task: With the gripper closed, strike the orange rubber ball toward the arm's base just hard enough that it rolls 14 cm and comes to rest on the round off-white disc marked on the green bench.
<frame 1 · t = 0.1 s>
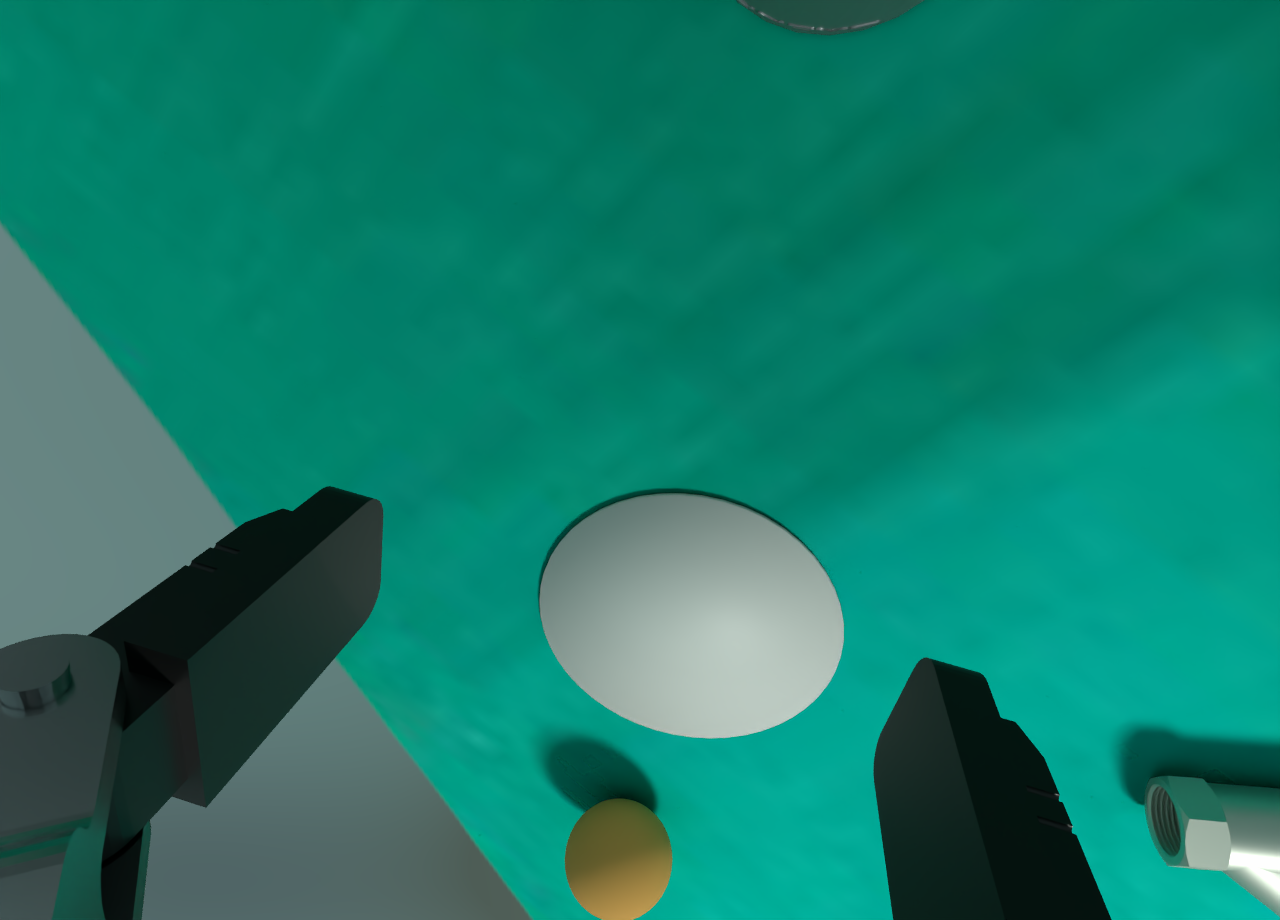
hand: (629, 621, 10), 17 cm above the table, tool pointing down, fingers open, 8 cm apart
pipe fitting: (1234, 811, 31), on the table
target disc: (686, 625, 32), on the table
ball: (618, 857, 36), on the table
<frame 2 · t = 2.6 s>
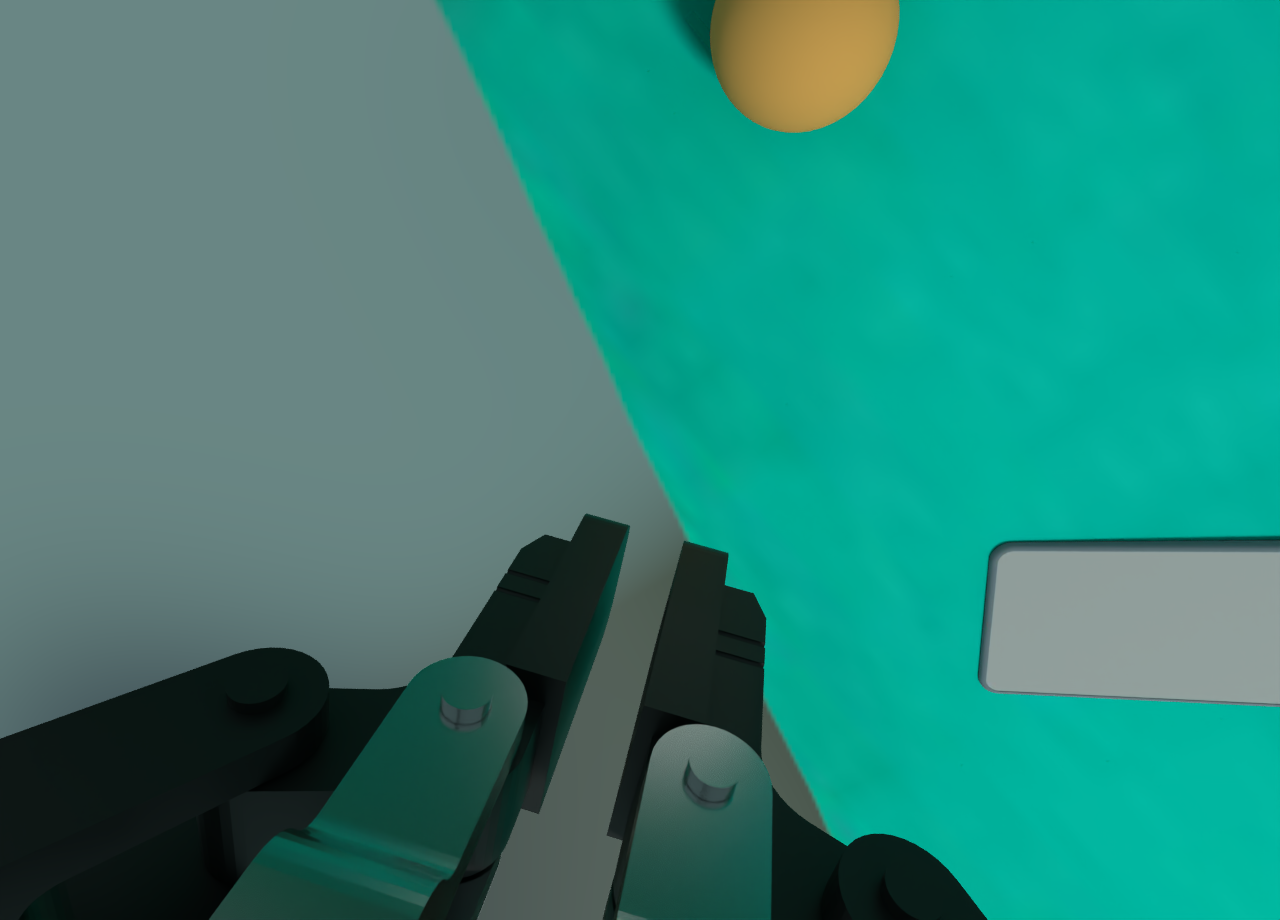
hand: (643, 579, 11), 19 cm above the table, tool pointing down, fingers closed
smartphone: (1163, 613, 31), on the table
ball: (801, 31, 21), on the table
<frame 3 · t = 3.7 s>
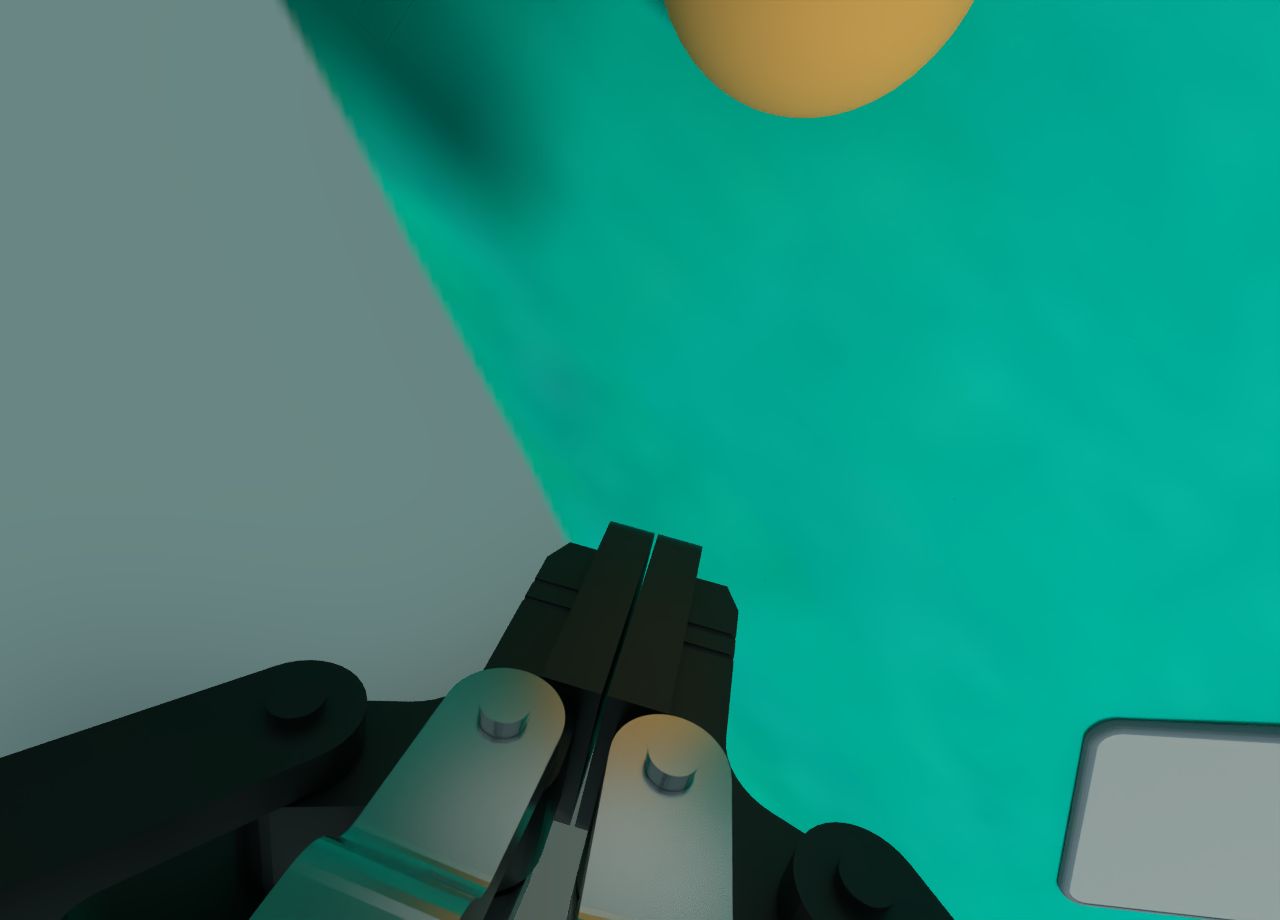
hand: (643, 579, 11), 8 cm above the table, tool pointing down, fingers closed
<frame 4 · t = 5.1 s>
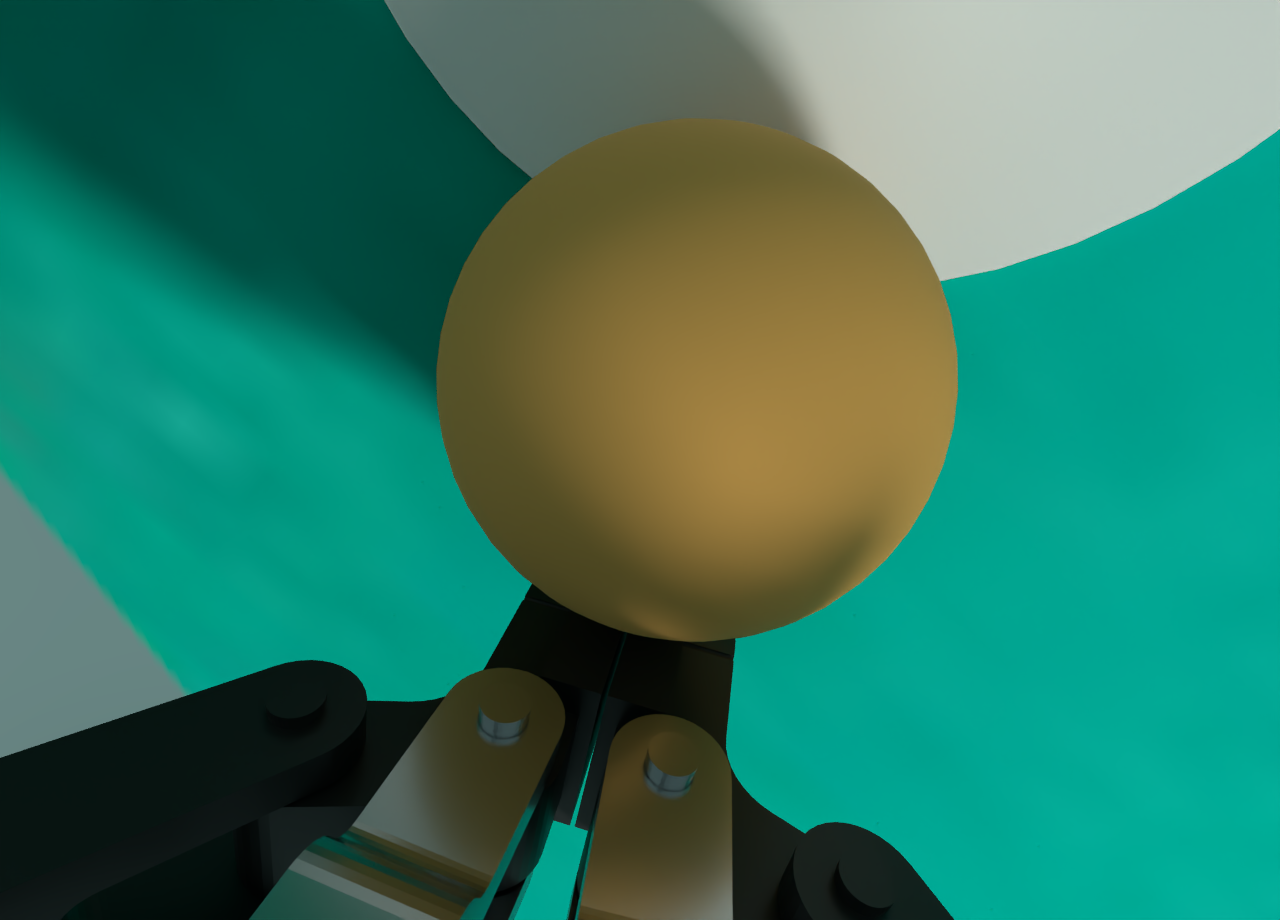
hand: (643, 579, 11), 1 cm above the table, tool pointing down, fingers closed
ball: (690, 389, 8), on the table
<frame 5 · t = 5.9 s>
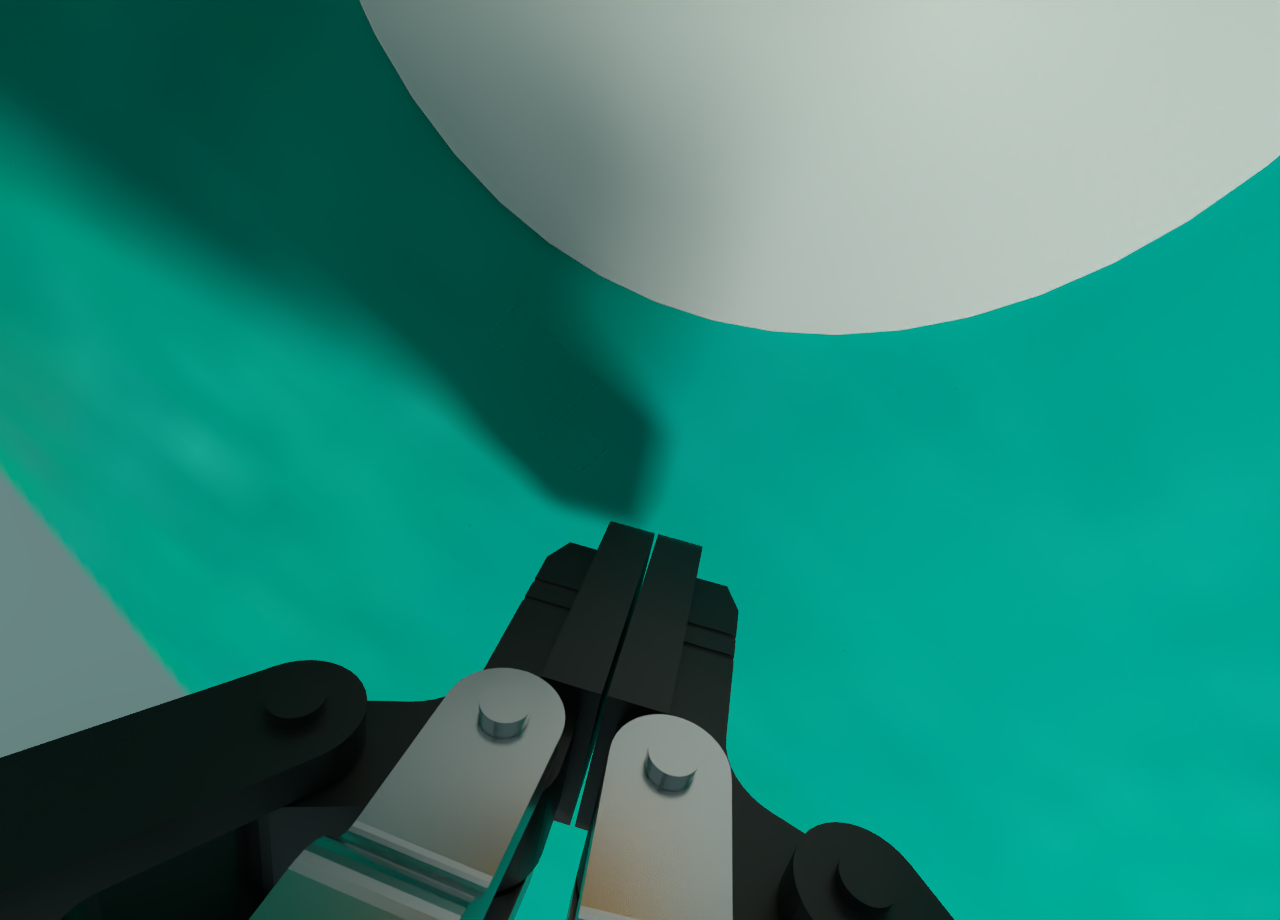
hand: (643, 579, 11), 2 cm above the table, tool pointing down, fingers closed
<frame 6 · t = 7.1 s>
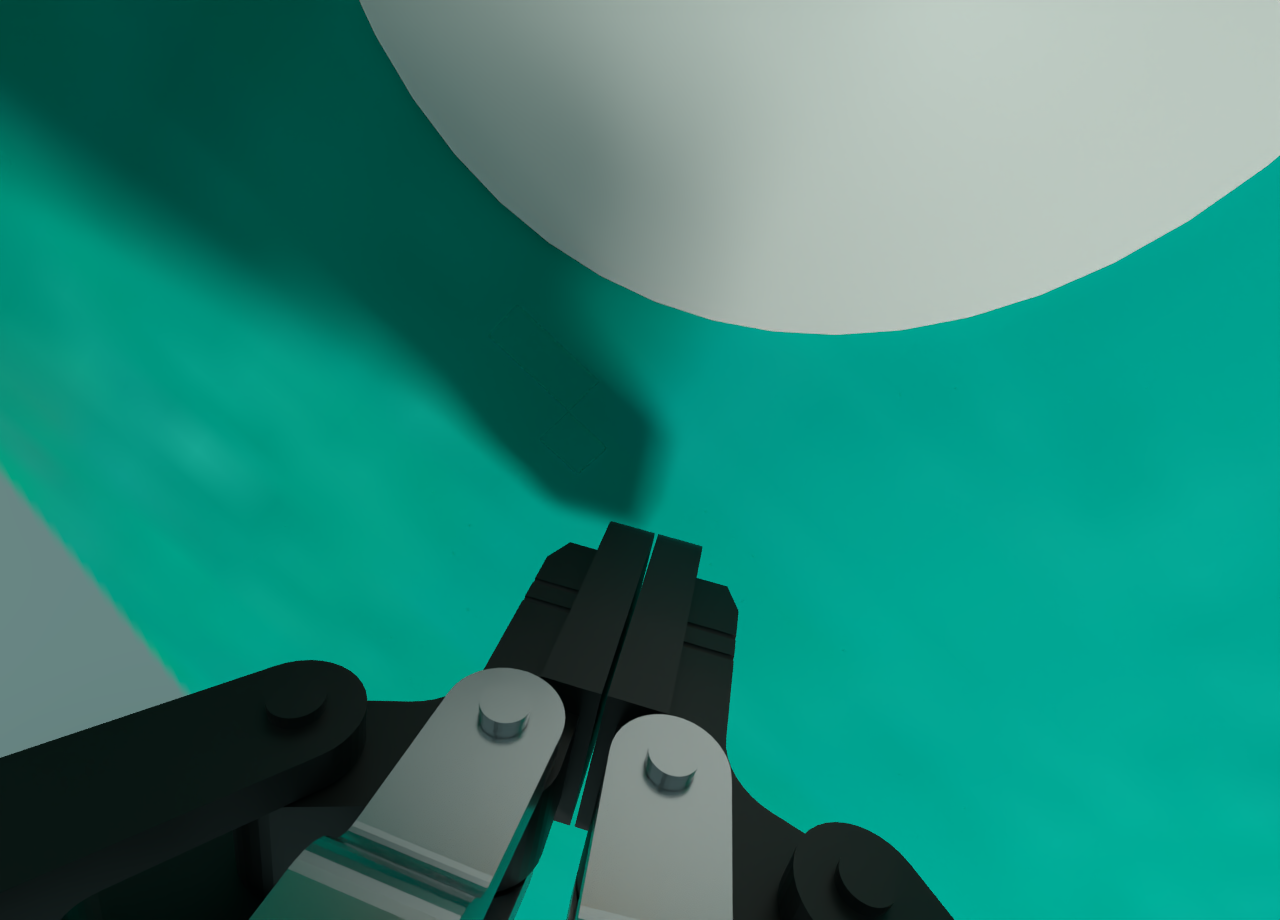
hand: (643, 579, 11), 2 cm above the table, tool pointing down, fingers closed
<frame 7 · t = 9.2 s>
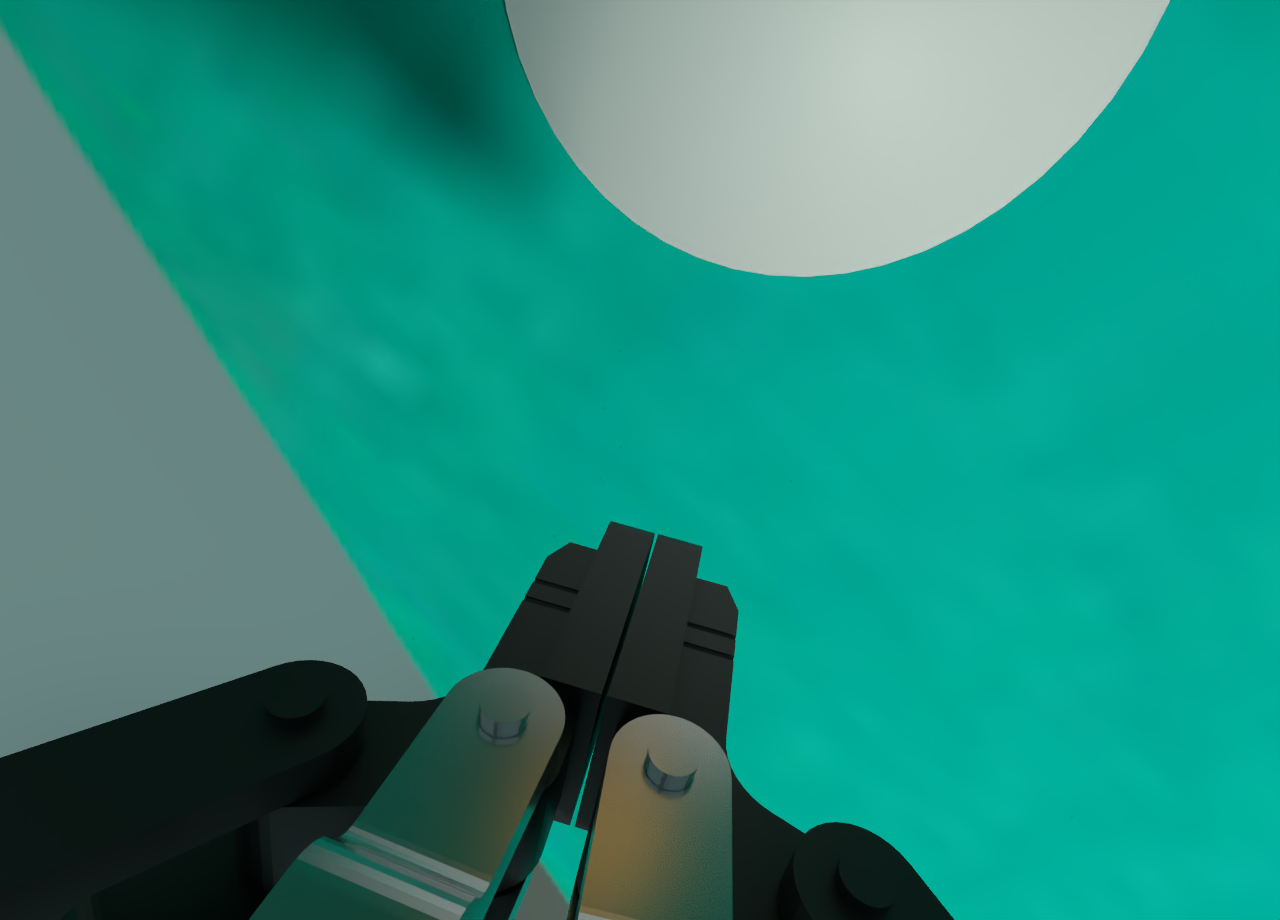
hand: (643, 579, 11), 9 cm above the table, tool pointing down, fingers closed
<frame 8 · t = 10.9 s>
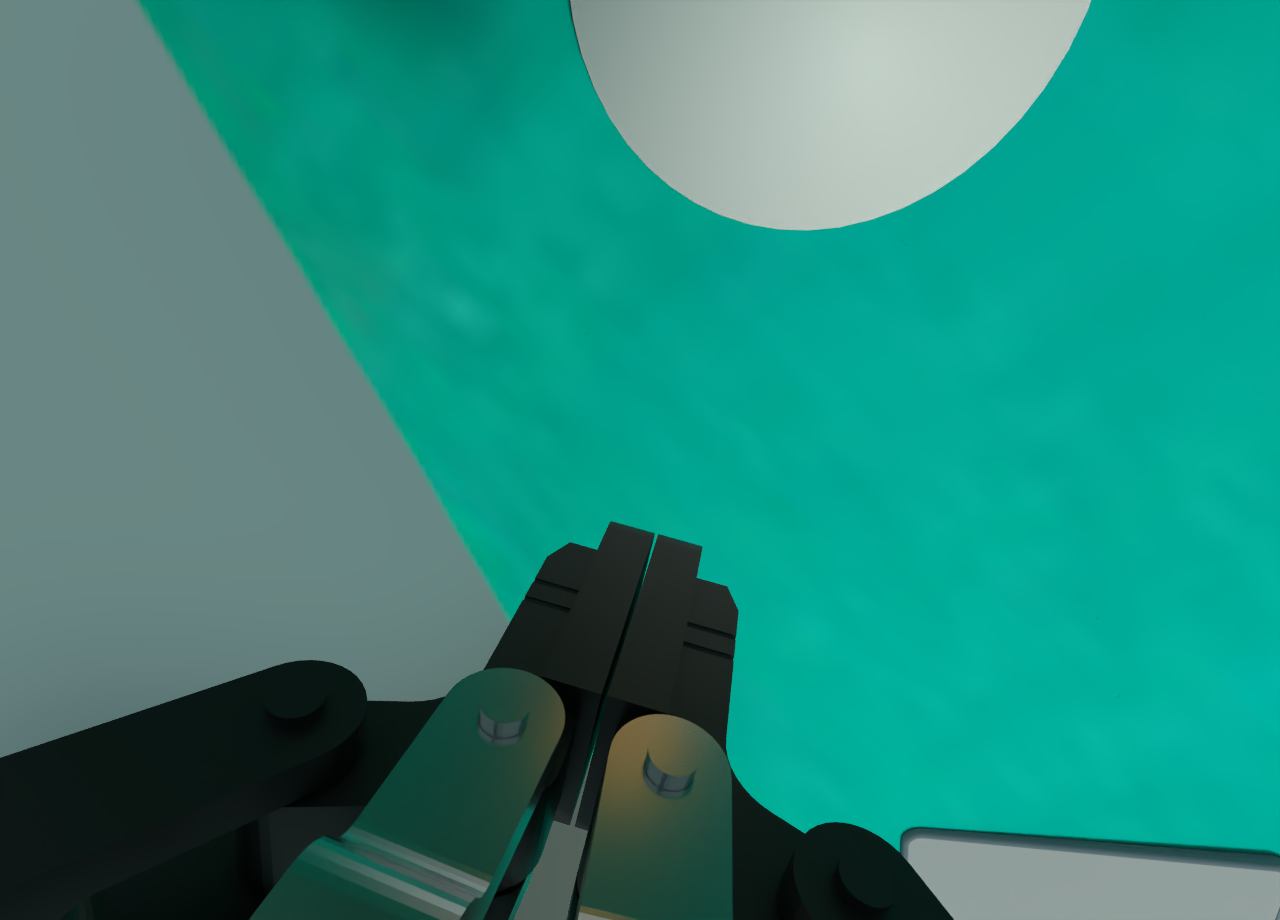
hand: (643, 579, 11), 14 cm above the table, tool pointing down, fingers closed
smartphone: (1069, 889, 32), on the table
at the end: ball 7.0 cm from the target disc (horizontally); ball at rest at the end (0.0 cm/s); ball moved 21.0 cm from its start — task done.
